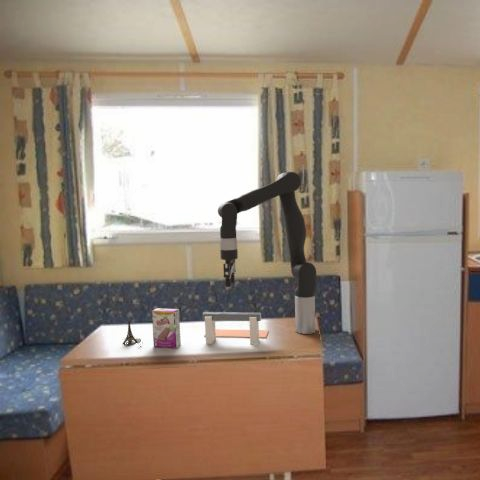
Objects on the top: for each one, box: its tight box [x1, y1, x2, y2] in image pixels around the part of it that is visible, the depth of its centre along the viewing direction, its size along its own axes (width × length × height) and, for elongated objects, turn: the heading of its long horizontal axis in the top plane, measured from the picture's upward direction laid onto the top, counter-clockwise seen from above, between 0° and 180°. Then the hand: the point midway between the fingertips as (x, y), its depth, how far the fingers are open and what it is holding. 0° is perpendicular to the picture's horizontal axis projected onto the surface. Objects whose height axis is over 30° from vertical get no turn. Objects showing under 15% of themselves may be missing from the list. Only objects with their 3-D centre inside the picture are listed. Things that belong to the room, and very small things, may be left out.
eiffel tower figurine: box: [122, 317, 142, 348], centre depth 185 cm, size 15×10×13 cm
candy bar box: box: [151, 307, 182, 349], centre depth 180 cm, size 11×5×16 cm, turn 74°
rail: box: [202, 311, 262, 322], centre depth 182 cm, size 26×3×3 cm, turn 80°
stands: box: [204, 316, 260, 346], centre depth 182 cm, size 23×6×12 cm, turn 80°
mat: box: [203, 328, 269, 339], centre depth 193 cm, size 29×10×1 cm, turn 80°
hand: (230, 284), depth 180 cm, fingers open, 8 cm apart
